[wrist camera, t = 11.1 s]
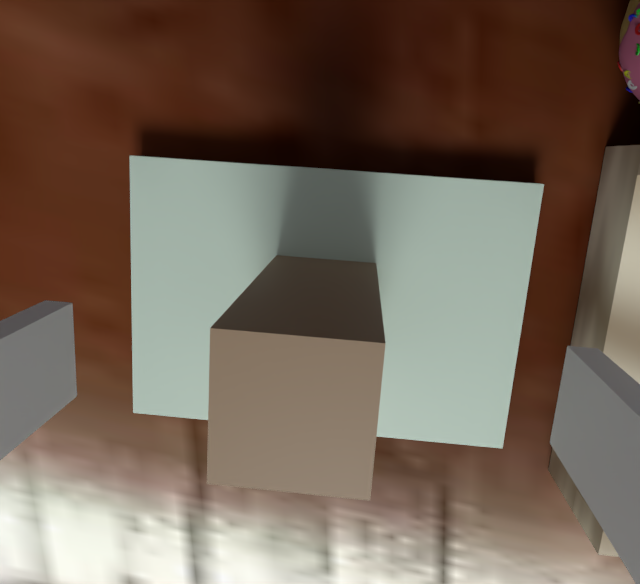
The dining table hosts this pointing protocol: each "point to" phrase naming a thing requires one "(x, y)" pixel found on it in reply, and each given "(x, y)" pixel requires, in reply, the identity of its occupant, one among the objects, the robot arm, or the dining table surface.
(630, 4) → the cupcake
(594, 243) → the birch box
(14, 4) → the dining table surface
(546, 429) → the dining table surface
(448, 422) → the cover plate
